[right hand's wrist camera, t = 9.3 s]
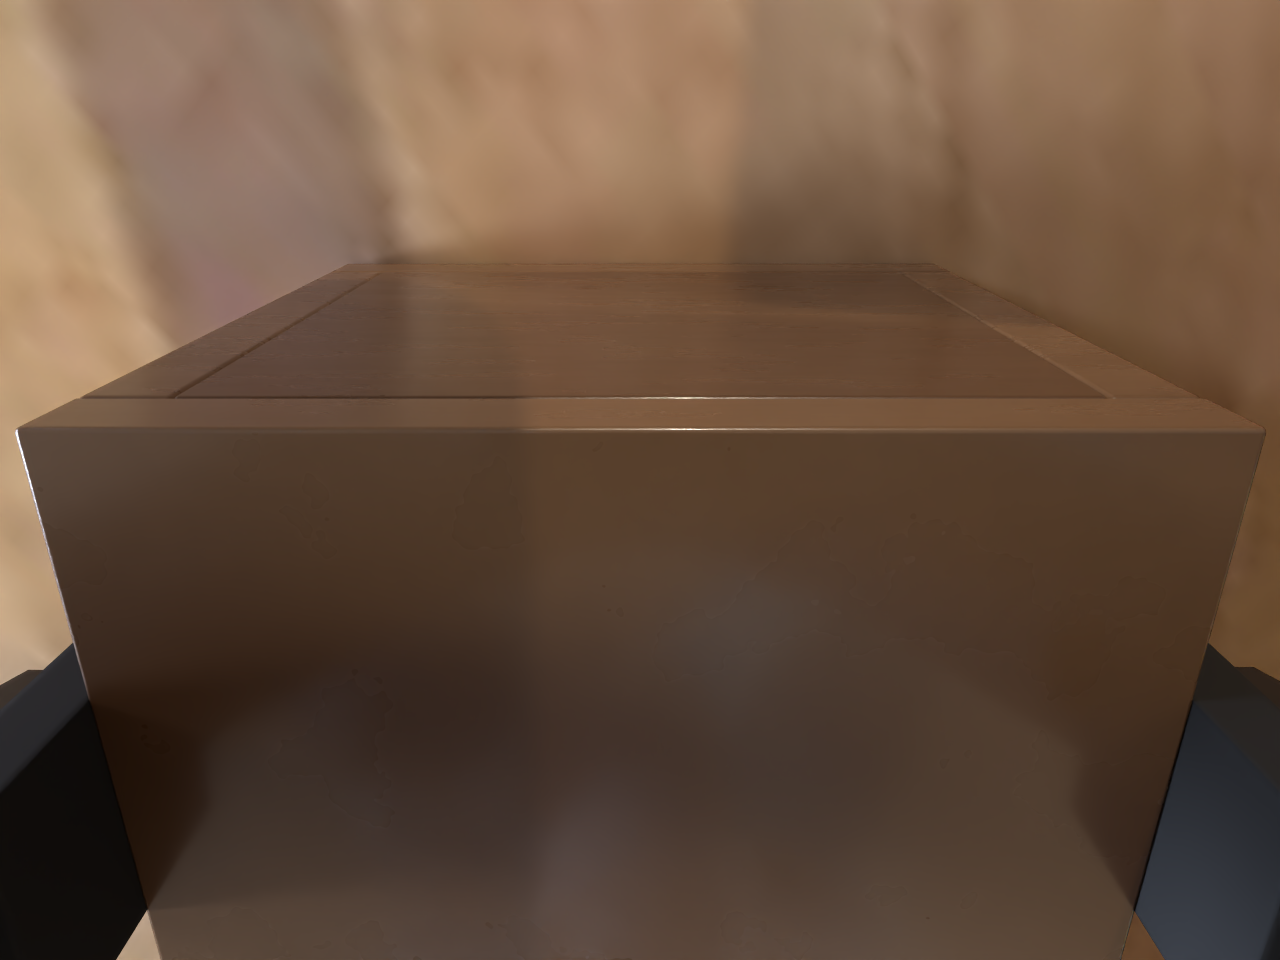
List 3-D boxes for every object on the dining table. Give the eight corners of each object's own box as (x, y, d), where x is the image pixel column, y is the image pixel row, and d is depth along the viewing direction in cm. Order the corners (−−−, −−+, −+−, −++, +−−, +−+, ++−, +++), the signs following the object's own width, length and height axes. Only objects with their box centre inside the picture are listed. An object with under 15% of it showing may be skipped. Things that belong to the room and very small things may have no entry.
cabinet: (837, 1075, 24) (945, 1600, 16) (443, 1075, 24) (336, 1599, 16) (936, 263, 16) (1270, 428, 8) (345, 263, 16) (10, 427, 8)
